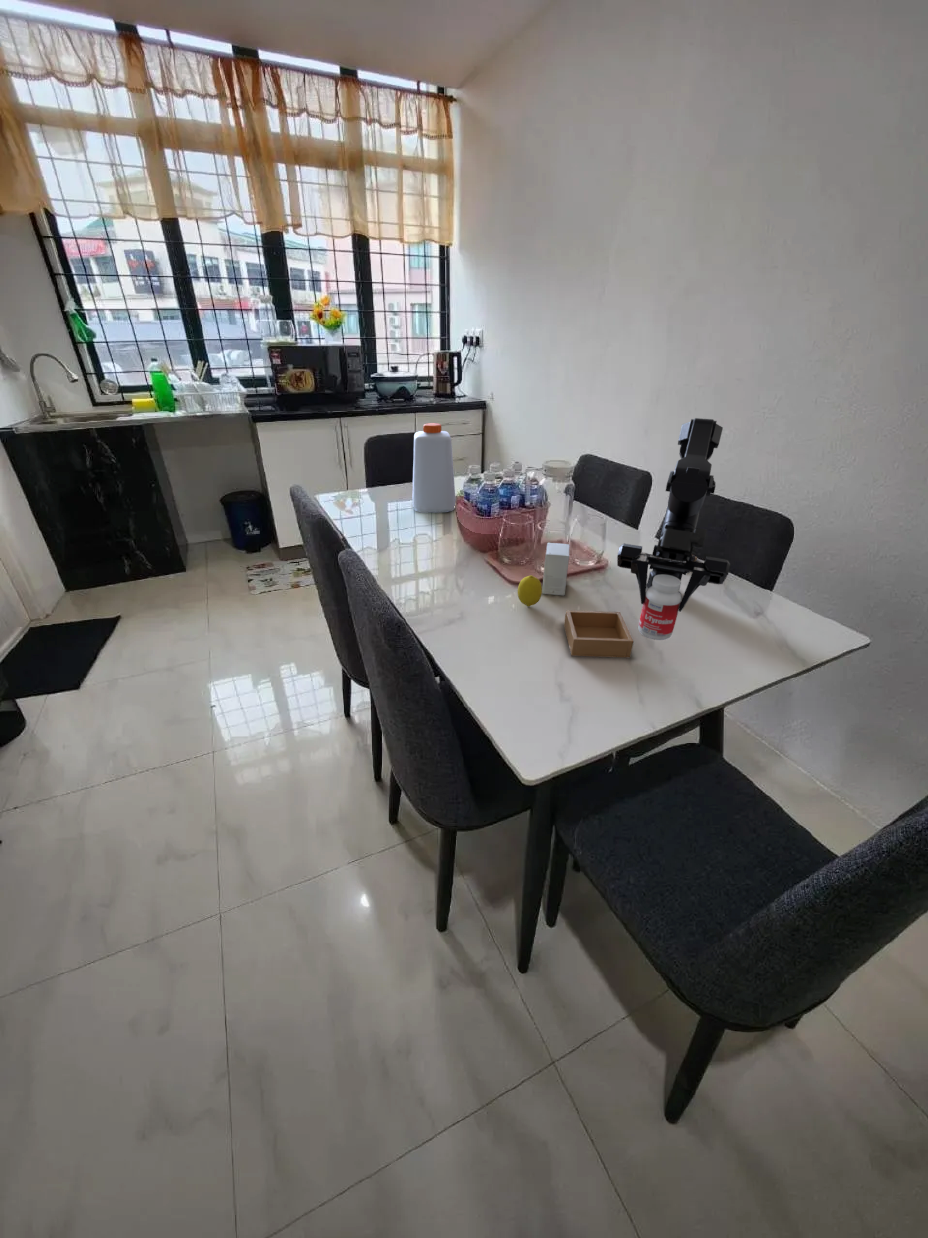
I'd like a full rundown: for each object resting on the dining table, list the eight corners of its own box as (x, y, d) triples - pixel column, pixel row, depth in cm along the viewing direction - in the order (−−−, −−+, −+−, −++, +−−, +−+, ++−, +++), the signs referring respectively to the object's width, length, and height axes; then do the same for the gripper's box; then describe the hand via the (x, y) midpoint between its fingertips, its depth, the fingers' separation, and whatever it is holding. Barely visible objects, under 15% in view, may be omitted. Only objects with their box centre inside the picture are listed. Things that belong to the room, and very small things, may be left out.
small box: (564, 596, 122) (569, 556, 116) (541, 594, 122) (545, 554, 117) (565, 582, 128) (570, 543, 123) (543, 580, 129) (547, 541, 124)
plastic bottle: (412, 500, 186) (409, 420, 171) (452, 500, 187) (453, 420, 173) (413, 514, 173) (409, 428, 158) (456, 513, 174) (457, 428, 160)
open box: (617, 627, 109) (620, 611, 107) (630, 657, 99) (633, 641, 97) (563, 625, 110) (565, 610, 108) (571, 655, 100) (573, 639, 98)
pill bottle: (636, 637, 93) (647, 584, 87) (638, 621, 98) (649, 570, 92) (671, 644, 91) (686, 590, 85) (672, 627, 96) (685, 575, 90)
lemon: (542, 603, 118) (545, 572, 114) (537, 614, 114) (540, 582, 110) (519, 599, 120) (522, 568, 116) (513, 609, 115) (516, 578, 111)
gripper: (628, 500, 89) (607, 582, 86) (744, 515, 82) (726, 604, 79) (626, 528, 99) (608, 601, 96) (730, 543, 93) (713, 623, 90)
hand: (660, 607), depth 90 cm, fingers closed on pill bottle, 6 cm apart
